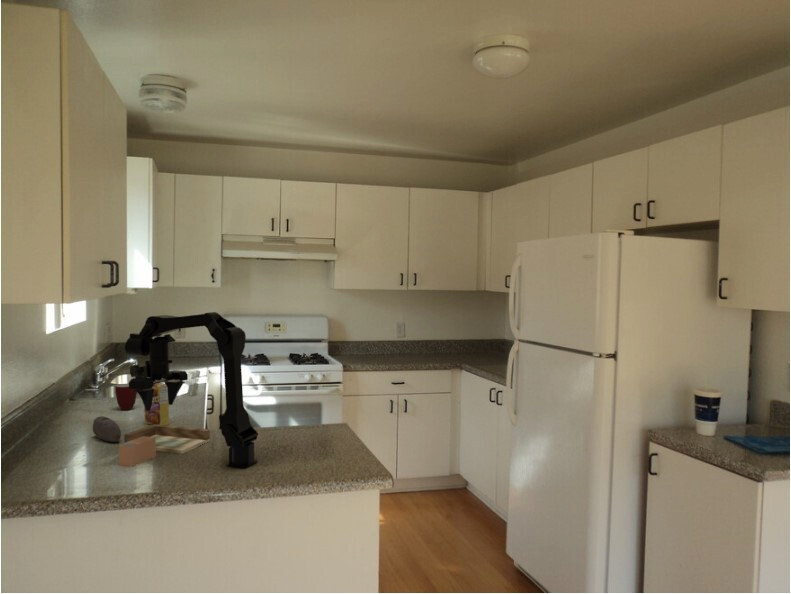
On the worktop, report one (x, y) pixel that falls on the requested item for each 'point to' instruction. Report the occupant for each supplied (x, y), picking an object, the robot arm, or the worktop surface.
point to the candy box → (158, 406)
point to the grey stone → (106, 429)
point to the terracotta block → (137, 451)
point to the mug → (125, 396)
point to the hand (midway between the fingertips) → (159, 407)
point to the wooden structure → (172, 437)
